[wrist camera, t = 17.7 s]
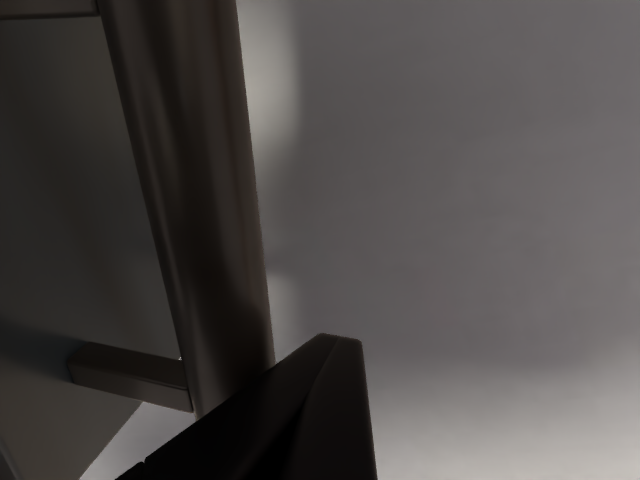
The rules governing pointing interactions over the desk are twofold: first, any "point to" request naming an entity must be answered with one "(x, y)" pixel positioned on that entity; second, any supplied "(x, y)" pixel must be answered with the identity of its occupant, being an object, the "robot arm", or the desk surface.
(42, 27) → the drawer
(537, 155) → the desk surface
